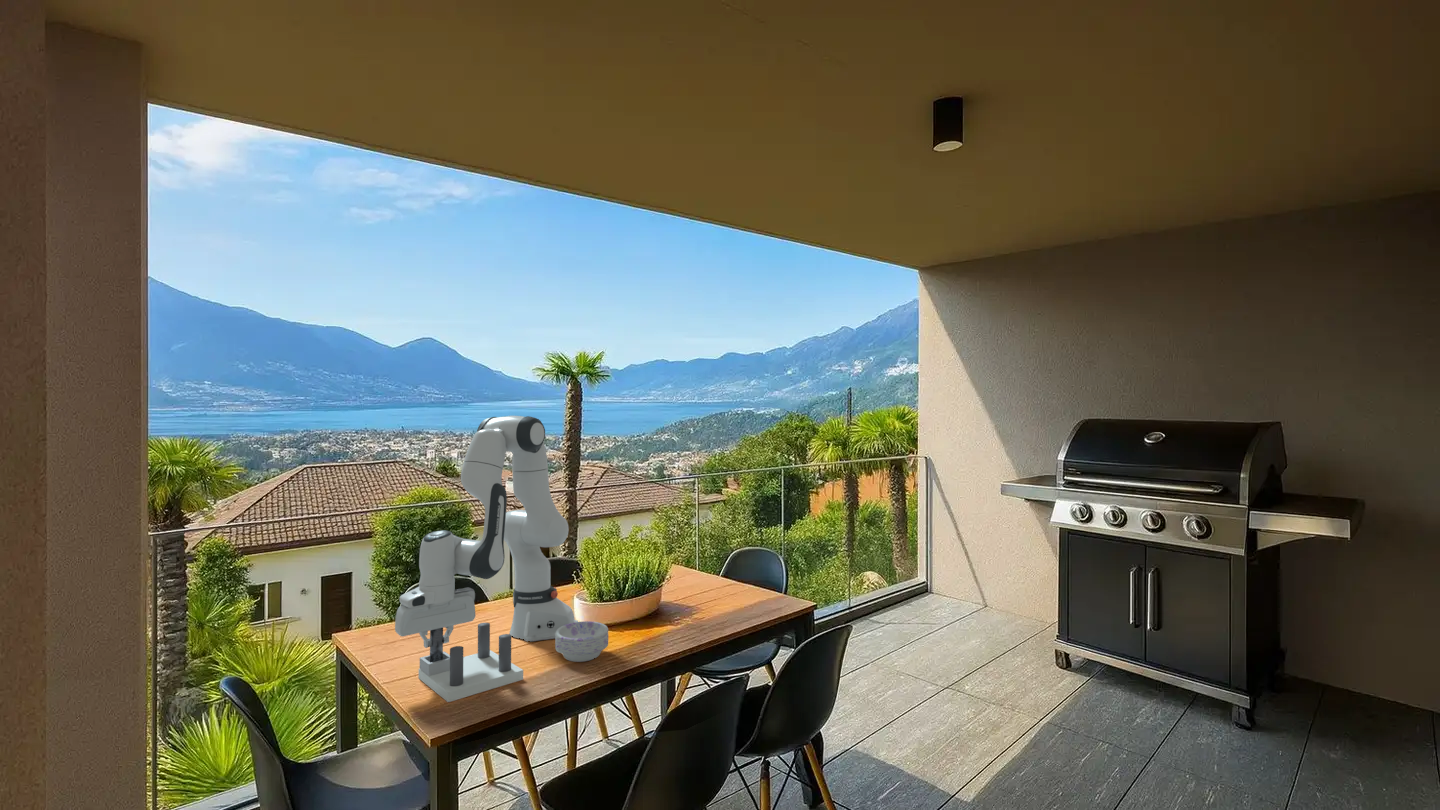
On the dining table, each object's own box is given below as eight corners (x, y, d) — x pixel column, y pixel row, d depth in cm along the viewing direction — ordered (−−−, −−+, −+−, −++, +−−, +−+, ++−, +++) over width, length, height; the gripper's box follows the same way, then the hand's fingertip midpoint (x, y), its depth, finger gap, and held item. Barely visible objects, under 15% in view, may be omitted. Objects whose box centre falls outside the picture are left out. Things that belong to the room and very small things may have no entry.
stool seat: (490, 658, 191) (490, 618, 191) (523, 679, 177) (523, 636, 177) (418, 678, 177) (418, 635, 177) (448, 702, 163) (448, 655, 163)
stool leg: (443, 657, 179) (444, 624, 179) (441, 661, 176) (441, 628, 176) (431, 658, 178) (431, 624, 178) (428, 662, 175) (428, 628, 175)
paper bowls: (560, 669, 183) (560, 641, 183) (551, 651, 197) (551, 624, 197) (614, 661, 189) (614, 633, 189) (601, 644, 203) (601, 618, 203)
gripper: (470, 583, 187) (469, 632, 187) (393, 597, 173) (392, 650, 172) (479, 588, 182) (479, 638, 182) (401, 602, 168) (400, 657, 168)
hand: (436, 644), depth 177 cm, fingers closed on stool leg, 3 cm apart
